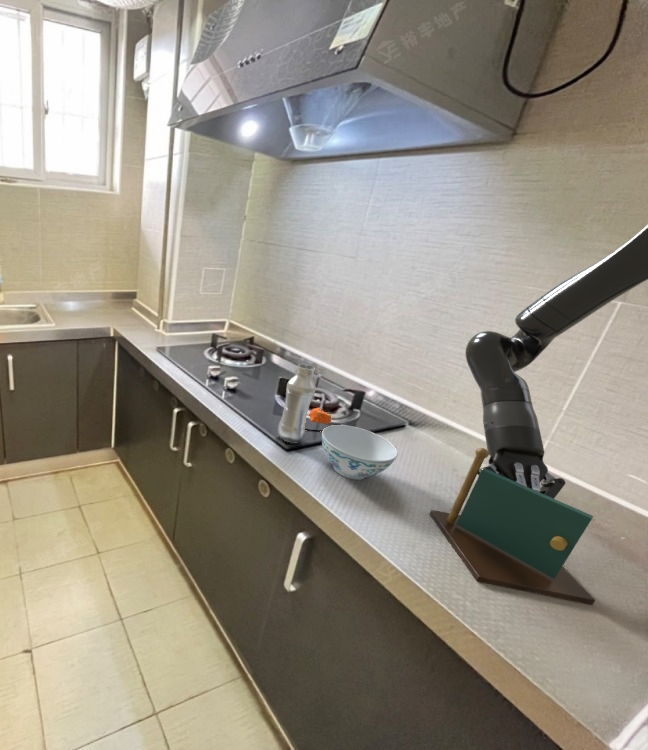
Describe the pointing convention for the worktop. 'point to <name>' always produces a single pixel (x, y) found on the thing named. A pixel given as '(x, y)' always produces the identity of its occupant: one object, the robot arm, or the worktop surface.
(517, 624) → the worktop surface
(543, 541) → the door
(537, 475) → the robot arm
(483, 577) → the door stand
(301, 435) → the plastic bottle
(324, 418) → the rock
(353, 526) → the worktop surface
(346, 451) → the chinaware
